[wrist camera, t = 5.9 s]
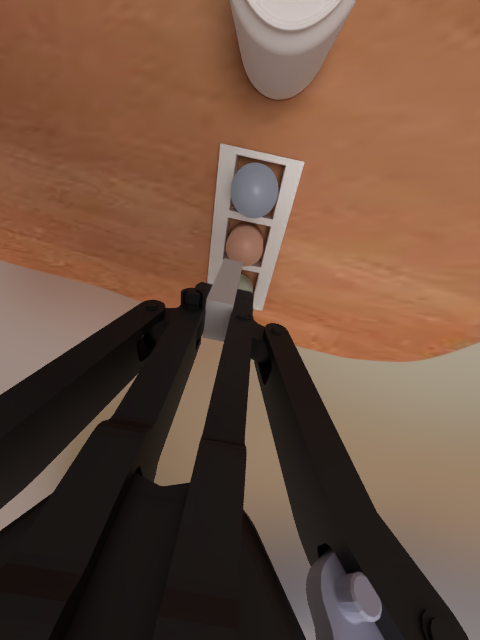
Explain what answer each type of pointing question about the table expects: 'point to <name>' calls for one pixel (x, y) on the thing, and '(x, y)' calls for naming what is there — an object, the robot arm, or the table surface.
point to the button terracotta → (245, 244)
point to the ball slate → (254, 190)
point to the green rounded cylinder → (245, 283)
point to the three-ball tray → (276, 221)
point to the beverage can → (286, 40)
